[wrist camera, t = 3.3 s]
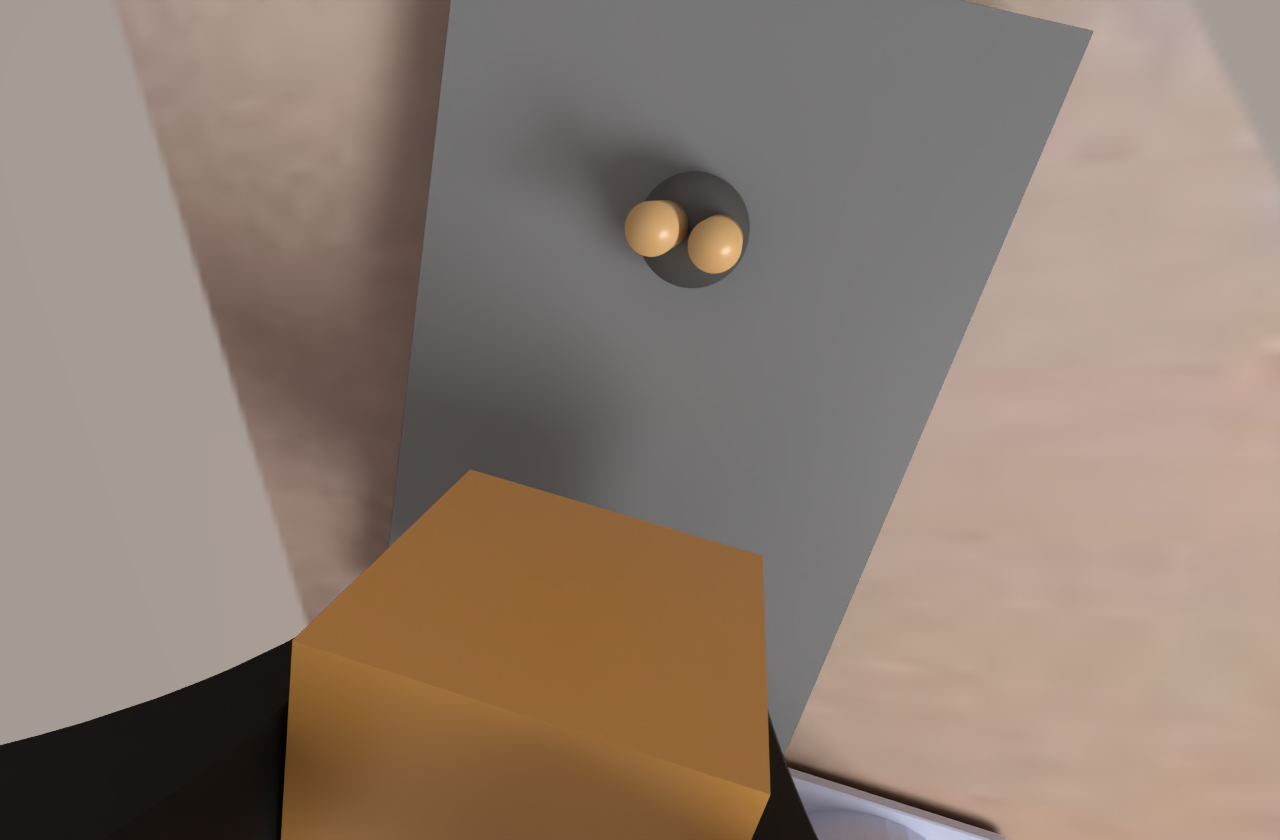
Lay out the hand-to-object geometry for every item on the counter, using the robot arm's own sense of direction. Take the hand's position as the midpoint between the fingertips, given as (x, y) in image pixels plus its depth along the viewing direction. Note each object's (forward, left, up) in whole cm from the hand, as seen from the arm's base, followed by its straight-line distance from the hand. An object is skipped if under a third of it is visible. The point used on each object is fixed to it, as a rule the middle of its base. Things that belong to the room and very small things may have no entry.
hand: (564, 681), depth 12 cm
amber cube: (0, 0, -1) cm, 1 cm away
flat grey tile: (+4, 0, -7) cm, 8 cm away
